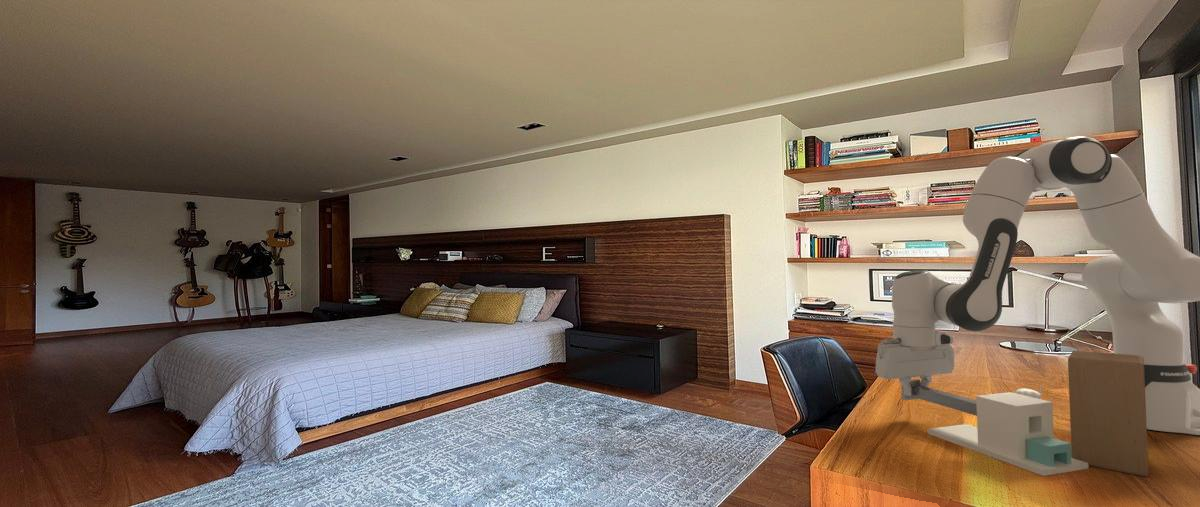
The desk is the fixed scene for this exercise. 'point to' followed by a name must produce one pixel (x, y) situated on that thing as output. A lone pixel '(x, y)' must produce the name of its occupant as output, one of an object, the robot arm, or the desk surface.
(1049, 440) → the block
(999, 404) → the bearing block
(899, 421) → the desk surface
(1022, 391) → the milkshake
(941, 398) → the shaft
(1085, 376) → the wooden block
